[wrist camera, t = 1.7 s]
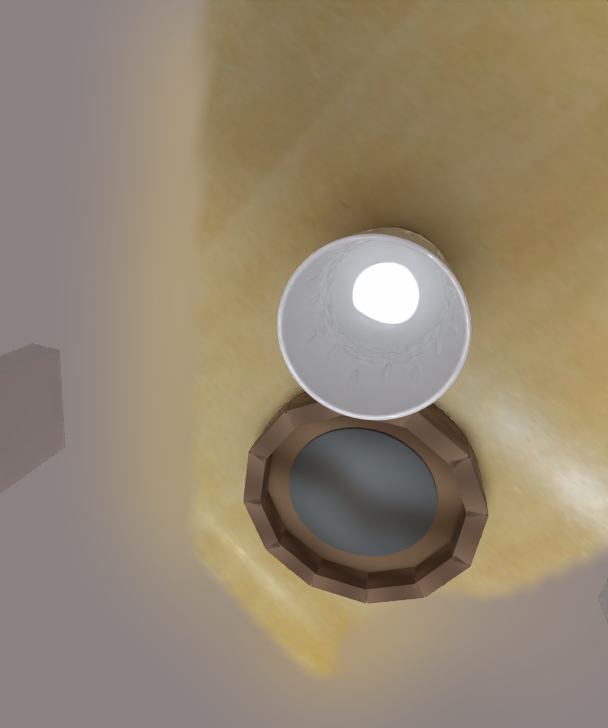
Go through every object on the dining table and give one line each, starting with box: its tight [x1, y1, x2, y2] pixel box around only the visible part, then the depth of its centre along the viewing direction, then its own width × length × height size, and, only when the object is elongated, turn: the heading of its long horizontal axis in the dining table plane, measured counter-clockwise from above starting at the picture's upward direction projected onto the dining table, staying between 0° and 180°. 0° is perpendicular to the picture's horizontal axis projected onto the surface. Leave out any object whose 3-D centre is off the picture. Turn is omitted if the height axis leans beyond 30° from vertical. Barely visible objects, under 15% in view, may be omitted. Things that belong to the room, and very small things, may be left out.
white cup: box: [277, 227, 471, 420], centre depth 24 cm, size 8×8×10 cm
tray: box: [244, 392, 488, 603], centre depth 33 cm, size 16×16×3 cm
